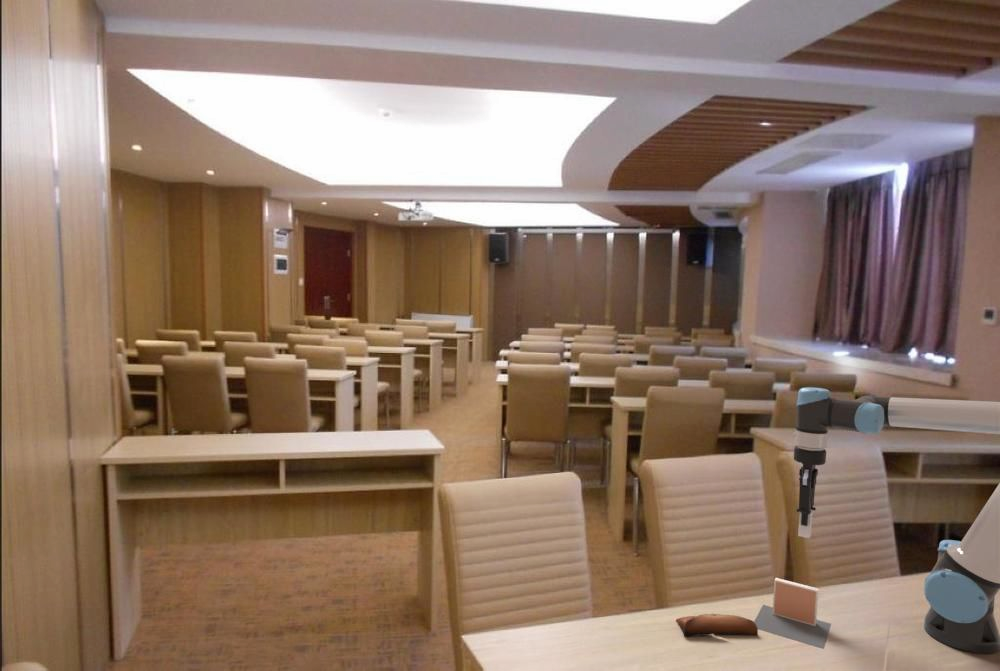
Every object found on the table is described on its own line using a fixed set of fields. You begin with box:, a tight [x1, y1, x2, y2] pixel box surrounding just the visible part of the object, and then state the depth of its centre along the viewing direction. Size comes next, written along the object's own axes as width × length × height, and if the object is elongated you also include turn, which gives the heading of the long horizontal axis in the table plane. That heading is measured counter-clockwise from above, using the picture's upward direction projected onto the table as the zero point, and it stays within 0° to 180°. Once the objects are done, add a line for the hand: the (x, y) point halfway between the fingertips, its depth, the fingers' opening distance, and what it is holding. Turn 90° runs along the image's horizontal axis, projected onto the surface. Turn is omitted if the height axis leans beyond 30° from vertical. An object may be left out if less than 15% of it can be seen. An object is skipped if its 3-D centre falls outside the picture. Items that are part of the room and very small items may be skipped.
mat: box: [753, 604, 832, 650], centre depth 158 cm, size 16×14×1 cm
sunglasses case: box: [675, 613, 759, 637], centre depth 156 cm, size 18×7×7 cm, turn 93°
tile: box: [772, 577, 820, 626], centre depth 161 cm, size 10×2×9 cm, turn 56°
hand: (804, 535), depth 168 cm, fingers closed
